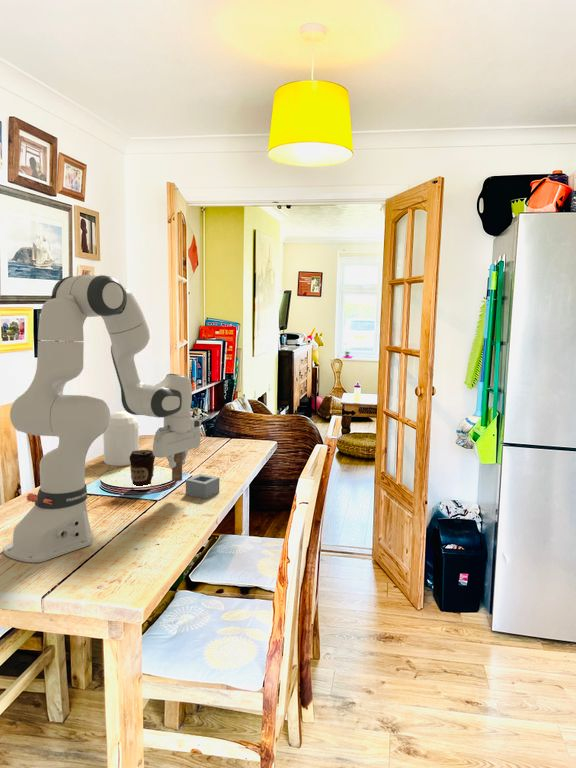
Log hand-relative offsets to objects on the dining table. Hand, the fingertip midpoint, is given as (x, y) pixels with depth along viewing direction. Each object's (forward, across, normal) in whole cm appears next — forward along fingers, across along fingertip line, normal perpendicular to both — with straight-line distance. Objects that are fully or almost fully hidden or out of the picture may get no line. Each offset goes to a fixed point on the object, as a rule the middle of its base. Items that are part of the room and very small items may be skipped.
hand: (177, 465), depth 189 cm
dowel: (+5, 0, 0) cm, 5 cm away
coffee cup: (+11, +1, +16) cm, 19 cm away
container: (+10, +22, +46) cm, 52 cm away
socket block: (+10, +8, -4) cm, 14 cm away
